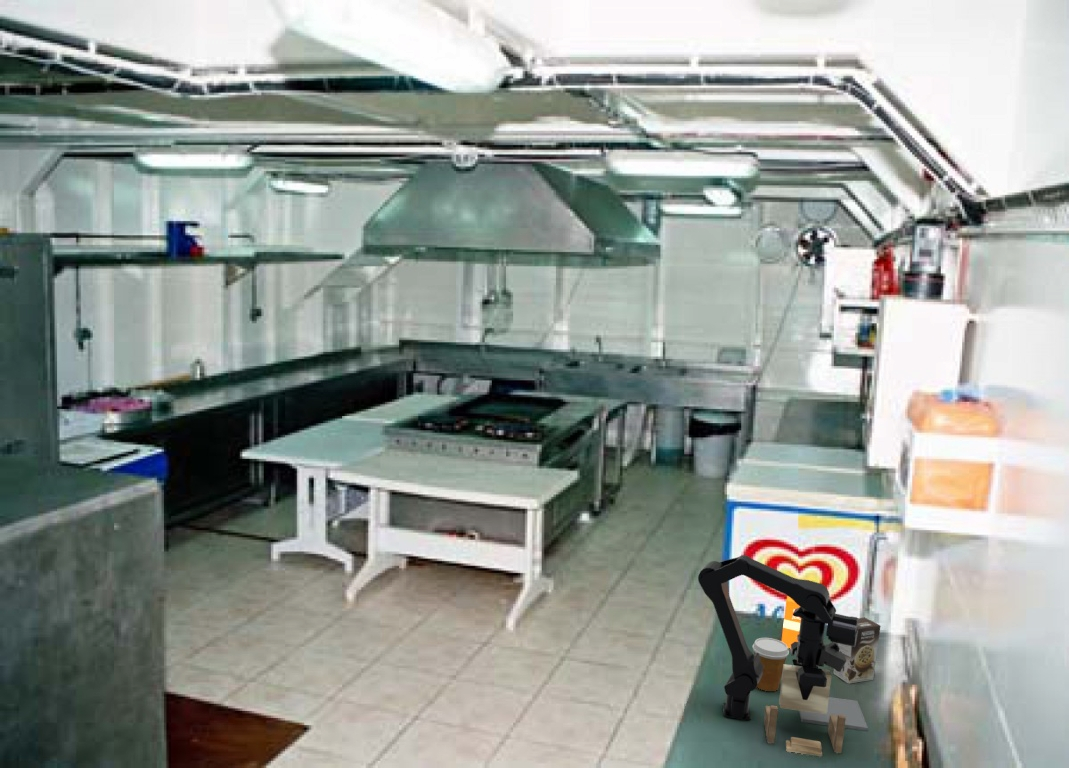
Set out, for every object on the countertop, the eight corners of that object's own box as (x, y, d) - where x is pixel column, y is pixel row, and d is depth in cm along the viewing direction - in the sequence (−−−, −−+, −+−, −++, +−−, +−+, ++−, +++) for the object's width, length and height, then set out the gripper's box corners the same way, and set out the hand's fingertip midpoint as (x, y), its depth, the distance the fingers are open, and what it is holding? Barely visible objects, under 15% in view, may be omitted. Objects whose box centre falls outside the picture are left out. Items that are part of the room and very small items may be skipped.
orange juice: (810, 654, 272) (818, 589, 269) (780, 646, 275) (787, 582, 272) (815, 644, 279) (822, 581, 276) (785, 637, 282) (792, 574, 279)
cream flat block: (779, 702, 229) (783, 664, 227) (824, 708, 227) (829, 669, 226) (780, 707, 226) (784, 669, 224) (826, 714, 224) (831, 675, 223)
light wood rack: (763, 722, 230) (767, 688, 229) (834, 732, 228) (838, 698, 226) (767, 743, 220) (771, 708, 219) (841, 753, 218) (845, 718, 217)
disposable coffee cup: (748, 675, 255) (752, 634, 253) (783, 681, 253) (788, 640, 251) (748, 691, 246) (753, 649, 244) (785, 697, 244) (790, 654, 242)
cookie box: (848, 684, 254) (856, 629, 251) (832, 673, 260) (839, 619, 257) (874, 680, 258) (881, 625, 255) (857, 669, 263) (864, 616, 261)
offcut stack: (785, 745, 221) (786, 735, 220) (820, 751, 219) (821, 741, 219) (786, 753, 218) (787, 743, 217) (821, 759, 216) (822, 749, 216)
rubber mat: (794, 695, 245) (794, 692, 245) (856, 703, 243) (857, 700, 243) (801, 721, 232) (801, 718, 232) (867, 730, 230) (867, 727, 229)
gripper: (852, 657, 213) (844, 720, 216) (839, 624, 232) (831, 683, 234) (803, 650, 215) (795, 713, 217) (793, 619, 233) (786, 677, 236)
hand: (804, 696), depth 226 cm, fingers closed on cream flat block, 3 cm apart
